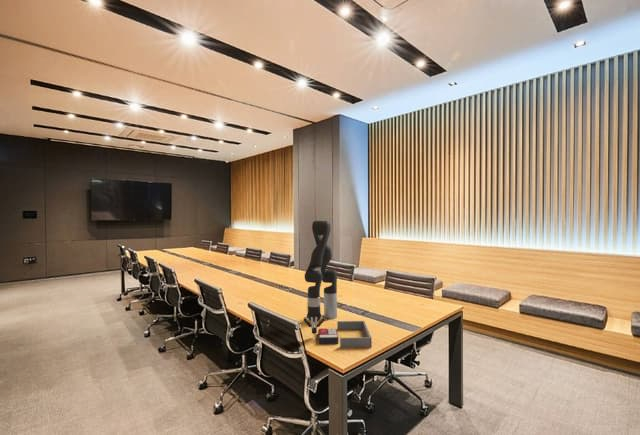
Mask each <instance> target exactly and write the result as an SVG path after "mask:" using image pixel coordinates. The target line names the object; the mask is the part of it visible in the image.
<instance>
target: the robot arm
mask: <svg viewBox="0 0 640 435" xmlns="http://www.w3.org/2000/svg"><path fill="white" fill-rule="evenodd" d="M311 225H312V226H311V229H312V230H311V231H312V234H313V238H314V241H315V245H316V246H315V247H314V248H313V250H312V252H311V257H310V261H309V264H308V266H307V269H306V270H305V273H304V280H305V282H306V283H311V284H312V283H314V284H315V285H311V286H308V288H307V303H306V304H307V314H306V316H305V317H303V321H304V323H305V324H306V325H307V326H308V327H309V328H311V333H312V335H316V334H317V333H318V330H317V328H319V327H320V326H321V325H322V324H323V323H324V321H325V319H336V318H338V300H337V299H338V283H337V282H338V273H337V272H338V271H337V270H335V269H328V268H327V266H328V265H329V263H330V262H331V260H332V257H333V254H332V249H331V246H330V245H329V243H328V240H329V237H330V233H331V228H332V227H331V222H330V221H328V220H314V221H312V224H311ZM319 268H320V270H315V269H319ZM322 282H323V283H325V284H330V285H329V286H325V287H324V288H323V316H322V313H321V296H320V295H321V294H320V293H321V291H320V290H321V286H322Z"/></svg>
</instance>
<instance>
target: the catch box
mask: <svg viewBox="0 0 640 435" xmlns="http://www.w3.org/2000/svg"><path fill="white" fill-rule="evenodd" d="M336 324H337V328H336V330H337V331H341V330H342V331H343V330H344V331H345V330H346V331H347V330H351V331H352V330H363V333H364V336H365V337H361V336H360V337H339V343H340V344H339V346H340V347H339V348H341V349H342V348H347V349H348V348H372V344H373V342H372V336H371V334H370V330H369V329H368V327H367V324H366V321H365V320H338V321H337V323H336Z"/></svg>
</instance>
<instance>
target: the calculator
mask: <svg viewBox="0 0 640 435" xmlns="http://www.w3.org/2000/svg"><path fill="white" fill-rule="evenodd" d="M317 333H318V345H338V344H339V334H338V329H337V328H330V327H328V328H318V330H317Z"/></svg>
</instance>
